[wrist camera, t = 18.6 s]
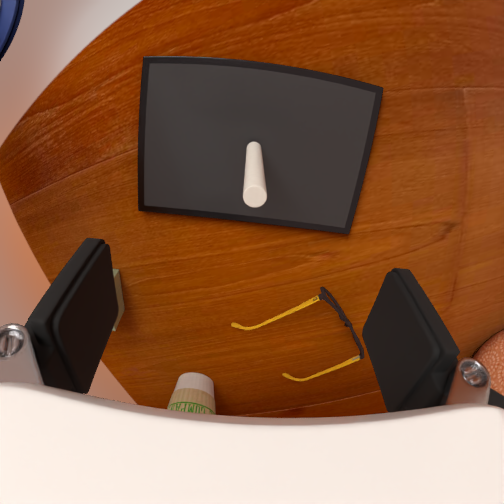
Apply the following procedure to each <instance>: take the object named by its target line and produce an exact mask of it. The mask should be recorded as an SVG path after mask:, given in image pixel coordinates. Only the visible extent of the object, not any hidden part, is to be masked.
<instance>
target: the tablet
mask: <svg viewBox="0 0 504 504" xmlns="http://www.w3.org/2000/svg"><path fill="white" fill-rule="evenodd" d="M382 93H383V87H379V86H376V85H372V84H369V83H365V82H361V81H357V80H353V79H349V78H345V77H341V76H337V75H332V74H328V73H323V72H318V71H313V70H308V69H302V68H297V67H291V66H285V65H278V64H271V63H264V62H256V61H247V60H237V59H225V58H211V57H189V56H144V57H143V67H142V79H141V92H140V108H139V131H138V210H139V211H146V212H157V213H168V214H178V215H189V216H199V217H208V218H218V219H227V220H236V221H245V222H254V223H263V224H272V225H280V226H288V227H297V228H305V229H313V230H320V231H328V232H336V233H343V234H349V232H350V229H351V225H352V222H353V218H354V214H355V211H356V207H357V203H358V200H359V196H360V192H361V188H362V184H363V180H364V176H365V172H366V168H367V164H368V160H369V155H370V151H371V146H372V142H373V137H374V133H375V128H376V123H377V119H378V114H379V109H380V103H381V98H382ZM251 142H257V143H259V144H260V146H261V150H262V158H263V166H264V175H265V183H266V191H267V199H266V202H265V203H264V204H263V205H262V206H260V207H255V208H254V207H250V206H248V205H247V204H246V203H245V202H244V200H243V188H244V176H245V163H246V151H247V145H248V144H249V143H251Z"/></svg>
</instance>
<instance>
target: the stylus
mask: <svg viewBox="0 0 504 504" xmlns="http://www.w3.org/2000/svg"><path fill="white" fill-rule="evenodd" d="M266 199H267V191H266V183H265V175H264V166H263V158H262V150H261V146H260V144H259V143H257V142H251V143H249V144H248V145H247V151H246V163H245V176H244V188H243V200H244V202H245V203H246V204H247V205H248V206H250V207H254V208H255V207H260V206H262V205H263V204H264V203H265V202H266Z"/></svg>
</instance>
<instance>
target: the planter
mask: <svg viewBox="0 0 504 504" xmlns="http://www.w3.org/2000/svg"><path fill="white" fill-rule="evenodd" d="M473 359H476V360H478V361H479V362H481V363H482V364H483V365H484V366H485V367H486V369H487V370H488V372H489V374H490V377H491V386H490V388H492V389H493V390H495V391H497V392H498V393H500V394H501V395H503V396H504V330H502V331H500V332H498V333H497V334H495V335H494V336H492V337H491V338H490V339H489V340H487V341H486V342H485V343H484V344H483V345H482V346H481V348H480V349H479V350H478V351H477V353H476V354H475V356H474V357H473Z"/></svg>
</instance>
